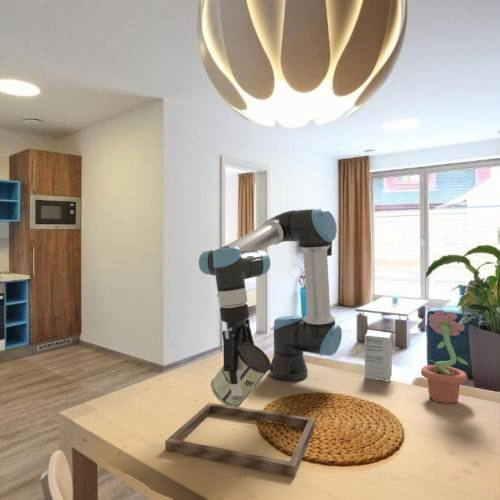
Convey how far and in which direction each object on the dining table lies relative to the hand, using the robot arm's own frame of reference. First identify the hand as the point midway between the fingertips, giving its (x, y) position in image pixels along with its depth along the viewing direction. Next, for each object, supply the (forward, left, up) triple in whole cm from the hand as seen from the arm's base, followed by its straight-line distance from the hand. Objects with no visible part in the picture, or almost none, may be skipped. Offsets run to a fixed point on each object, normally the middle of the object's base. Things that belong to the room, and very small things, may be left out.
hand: (244, 386), depth 104 cm
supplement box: (+15, +68, -14) cm, 71 cm away
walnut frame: (0, -1, -13) cm, 13 cm away
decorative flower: (+40, +58, -14) cm, 72 cm away
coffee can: (-5, -1, -2) cm, 6 cm away
